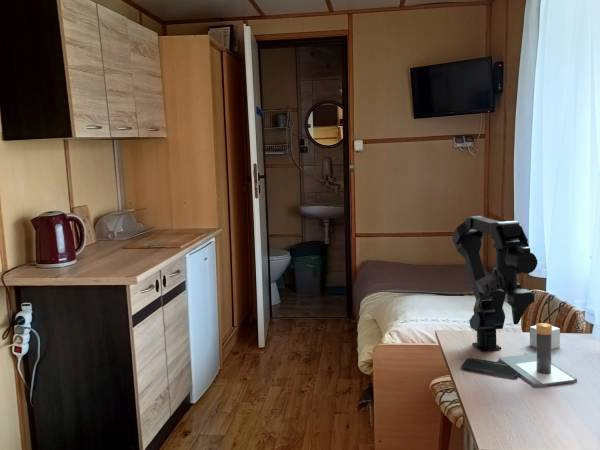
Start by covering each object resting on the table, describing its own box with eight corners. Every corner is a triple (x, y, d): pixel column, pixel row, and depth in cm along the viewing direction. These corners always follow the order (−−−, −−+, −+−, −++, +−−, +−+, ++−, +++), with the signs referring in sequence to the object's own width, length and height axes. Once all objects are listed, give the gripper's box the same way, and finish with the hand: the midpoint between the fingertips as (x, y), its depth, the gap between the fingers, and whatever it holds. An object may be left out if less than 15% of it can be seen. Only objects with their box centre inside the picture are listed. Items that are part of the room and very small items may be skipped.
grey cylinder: (533, 370, 144) (533, 325, 142) (541, 367, 146) (542, 322, 144) (545, 375, 141) (546, 328, 139) (554, 371, 142) (554, 325, 141)
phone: (467, 357, 156) (522, 366, 148) (468, 361, 156) (522, 369, 148) (460, 367, 149) (516, 377, 141) (460, 371, 149) (516, 381, 141)
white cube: (529, 345, 164) (529, 326, 163) (543, 341, 166) (543, 323, 166) (546, 351, 159) (546, 332, 158) (560, 347, 161) (560, 328, 160)
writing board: (498, 360, 154) (498, 357, 154) (536, 355, 156) (536, 352, 156) (535, 387, 136) (535, 384, 136) (578, 382, 138) (578, 379, 137)
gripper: (464, 261, 156) (465, 312, 158) (497, 275, 138) (497, 333, 140) (499, 258, 158) (499, 308, 160) (536, 271, 140) (536, 328, 142)
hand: (506, 319), depth 150 cm, fingers open, 9 cm apart
